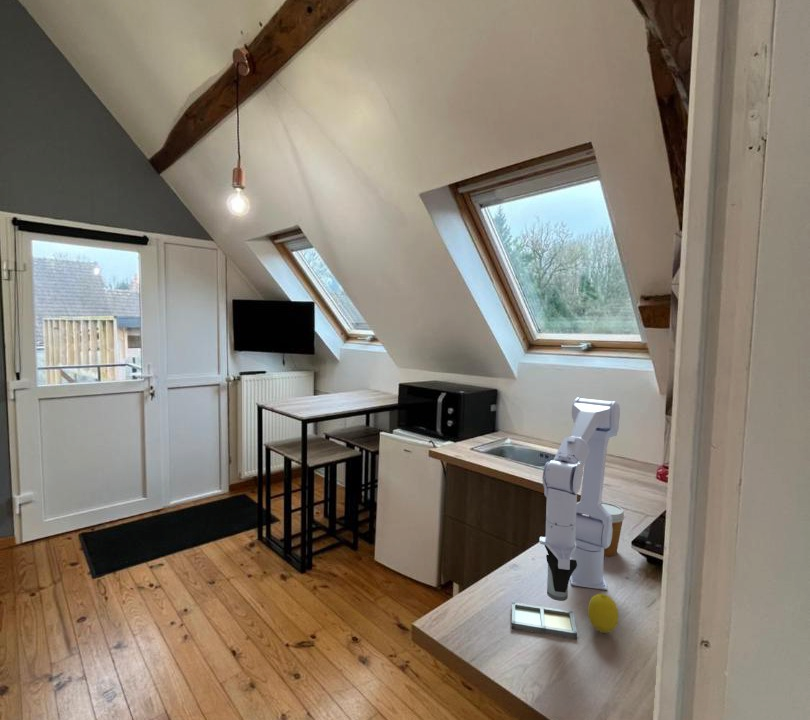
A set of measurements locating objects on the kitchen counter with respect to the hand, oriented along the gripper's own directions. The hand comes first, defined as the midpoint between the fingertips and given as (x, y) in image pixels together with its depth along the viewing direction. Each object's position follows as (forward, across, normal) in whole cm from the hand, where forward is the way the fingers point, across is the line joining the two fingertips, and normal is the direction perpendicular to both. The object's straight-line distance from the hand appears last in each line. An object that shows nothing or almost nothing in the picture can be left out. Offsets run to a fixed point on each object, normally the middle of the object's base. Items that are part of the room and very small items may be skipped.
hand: (558, 584), depth 89 cm
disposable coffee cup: (+9, -35, +16) cm, 39 cm away
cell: (+2, 0, 0) cm, 2 cm away
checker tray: (+9, 0, -3) cm, 9 cm away
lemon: (+9, 0, +8) cm, 12 cm away
